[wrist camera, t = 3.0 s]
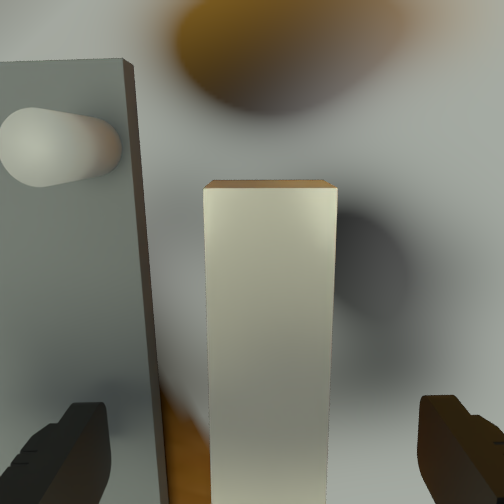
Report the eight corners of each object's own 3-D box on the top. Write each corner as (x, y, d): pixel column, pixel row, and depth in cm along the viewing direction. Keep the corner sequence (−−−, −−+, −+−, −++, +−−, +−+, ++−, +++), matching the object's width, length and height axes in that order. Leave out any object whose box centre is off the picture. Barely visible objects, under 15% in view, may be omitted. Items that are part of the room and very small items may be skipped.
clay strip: (213, 180, 13) (203, 188, 10) (322, 179, 13) (337, 188, 10) (221, 542, 16) (214, 616, 13) (311, 543, 15) (321, 617, 13)
